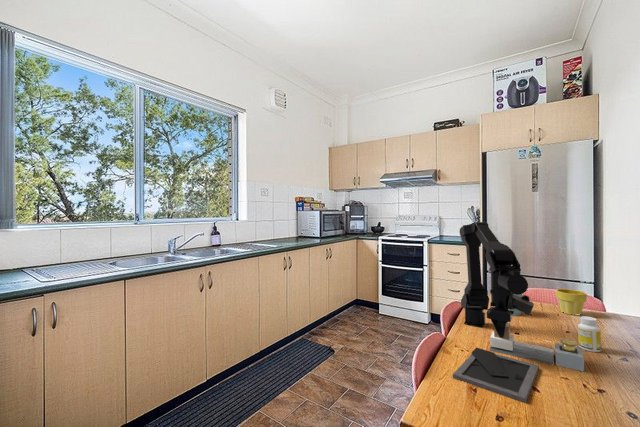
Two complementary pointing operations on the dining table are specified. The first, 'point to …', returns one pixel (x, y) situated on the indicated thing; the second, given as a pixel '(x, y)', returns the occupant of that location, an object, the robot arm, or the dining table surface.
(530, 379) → the picture frame
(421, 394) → the dining table surface
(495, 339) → the carriage
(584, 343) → the supplement bottle
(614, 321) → the dining table surface
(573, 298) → the plant pot
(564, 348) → the button
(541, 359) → the rail
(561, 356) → the grey notched block
